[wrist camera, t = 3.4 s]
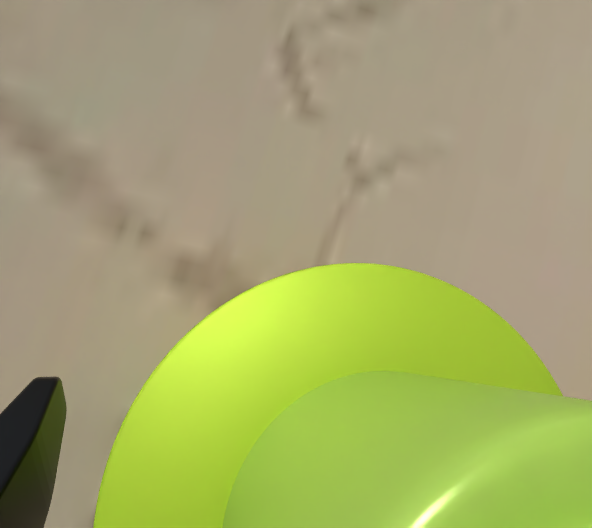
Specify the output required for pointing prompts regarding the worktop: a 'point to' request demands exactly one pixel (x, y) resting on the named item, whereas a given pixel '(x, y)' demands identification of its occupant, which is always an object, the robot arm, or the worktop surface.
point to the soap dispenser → (351, 416)
